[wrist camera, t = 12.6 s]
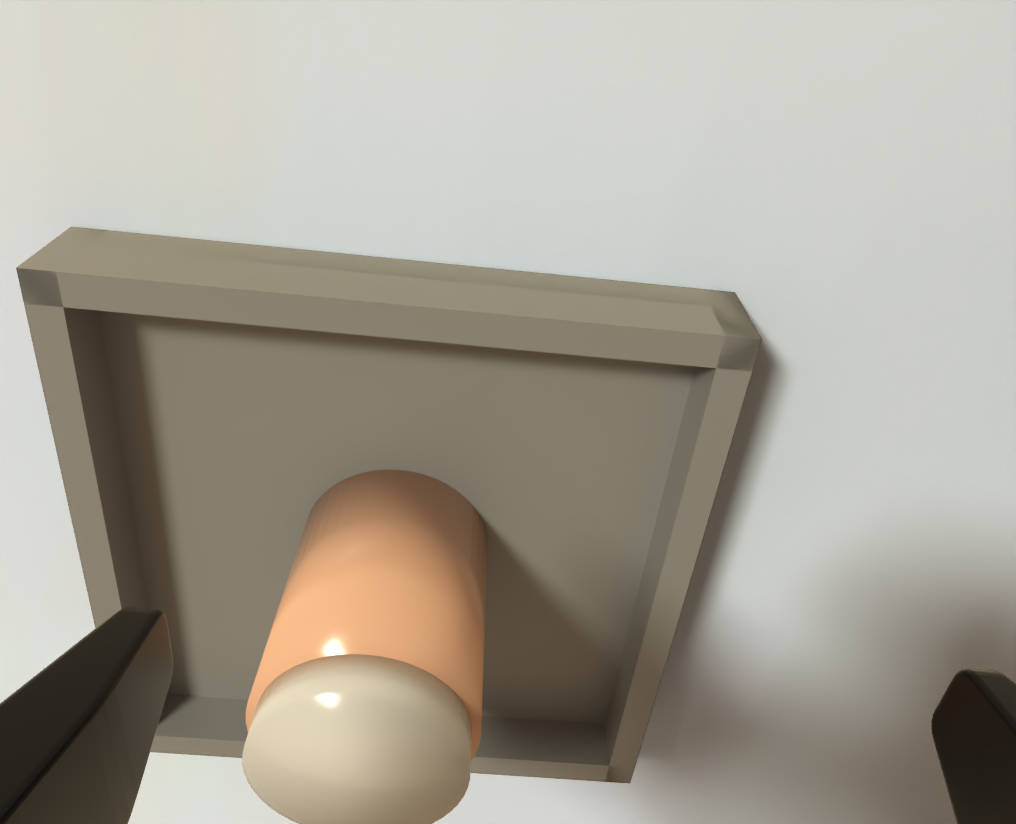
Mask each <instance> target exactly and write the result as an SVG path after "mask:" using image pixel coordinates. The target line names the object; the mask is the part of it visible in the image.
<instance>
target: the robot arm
mask: <svg viewBox="0 0 1016 824" xmlns="http://www.w3.org/2000/svg"><path fill="white" fill-rule="evenodd" d="M172 671H173V657H172V651H171V644H170V638H169V631H168V625H167V619H166V616H165V614H164V612H163V611H162V610H160V609H158V608H146V607H132V606H130V607H125V608H122V609H120V610H119V611H117V612H116V613H115V614H113V615H112V616H111V617H110V618H108V619H107V620H106V621H105V622H103V623H102V624H101V625H99V626H98V627H97V628H96V629H94V630H93V631H92V632H91V633H89V634H88V635H87V636H85V637H84V638H83V639H82V640H80V641H79V642H78V643H77V644H75V645H74V646H73V647H71V648H70V649H69V650H68V651H66V652H65V653H64V654H63V655H61V656H60V657H59V658H58V659H56V660H55V661H54V662H52V663H51V664H50V665H49V666H47V667H46V668H45V669H44V670H42V671H41V672H40V673H38V674H37V675H36V676H35V677H33V678H32V679H31V680H30V681H28V682H27V683H26V684H24V685H23V686H22V687H21V688H19V689H18V690H17V691H16V692H14V693H13V694H12V695H11V696H9V697H8V698H7V699H5V700H4V701H3V702H2V703H0V824H128V821H129V819H130V816H131V813H132V810H133V806H134V803H135V800H136V797H137V794H138V790H139V787H140V784H141V780H142V777H143V773H144V770H145V767H146V763H147V760H148V757H149V753H150V750H151V746H152V743H153V740H154V736H155V733H156V729H157V726H158V723H159V719H160V716H161V712H162V709H163V706H164V702H165V699H166V695H167V692H168V689H169V685H170V682H171V677H172ZM932 734H933V739H934V742H935V746H936V750H937V753H938V757H939V760H940V764H941V768H942V771H943V775H944V778H945V782H946V786H947V789H948V793H949V797H950V800H951V804H952V807H953V811H954V815H955V818H956V822H957V824H1016V684H1015V683H1014V682H1012V681H1011V680H1010V679H1009V678H1007V677H1006V676H1005V675H1003V674H1001V673H999V672H996V671H992V670H980V669H962V670H961V671H959V672H958V673H957V674H956V675H955V676H954V678H953V680H952V681H951V683H950V685H949V687H948V688H947V690H946V692H945V694H944V695H943V697H942V699H941V701H940V703H939V704H938V706H937V708H936V710H935V712H934V714H933V718H932Z"/></svg>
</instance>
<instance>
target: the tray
mask: <svg viewBox="0 0 1016 824" xmlns="http://www.w3.org/2000/svg"><path fill="white" fill-rule="evenodd" d="M16 269H17V274H18V278H19V283H20V287H21V292H22V296H23V301H24V305H25V310H26V314H27V319H28V324H29V328H30V333H31V337H32V342H33V346H34V351H35V355H36V360H37V364H38V369H39V374H40V378H41V383H42V387H43V392H44V396H45V401H46V405H47V410H48V415H49V419H50V424H51V428H52V433H53V437H54V442H55V446H56V451H57V455H58V460H59V465H60V469H61V474H62V478H63V483H64V487H65V492H66V496H67V501H68V505H69V510H70V515H71V519H72V524H73V528H74V533H75V537H76V542H77V546H78V551H79V555H80V560H81V565H82V569H83V574H84V578H85V583H86V587H87V592H88V596H89V601H90V605H91V610H92V615H93V619H94V624H95V628H97V627H98V626H99V625H101V624H102V623H103V622H105V621H106V620H107V619H108V618H110V617H111V616H112V615H113V614H115V613H116V612H117V611H119V610H120V609H122V608H125V607H130V606H132V607H146V608H158V609H160V610H162V611H163V612H164V614H165V616H166V619H167V625H168V631H169V638H170V644H171V651H172V657H173V671H172V677H171V682H170V685H169V689H168V692H167V695H166V699H165V702H164V706H163V709H162V712H161V716H160V719H159V723H158V726H157V729H156V733H155V736H154V740H153V743H152V746H151V750H150V752H158V753H174V754H189V755H204V756H220V757H235V758H242V754H243V749H244V745H245V742H246V739H247V735H248V731H247V725H246V708H247V703H248V699H249V696H250V693H251V690H252V687H253V684H254V681H255V678H256V675H257V672H258V669H259V666H260V663H261V660H262V656H263V653H264V650H265V647H266V644H267V641H268V638H269V635H270V632H271V629H272V626H273V623H274V620H275V617H276V613H277V610H278V607H279V604H280V601H281V598H282V595H283V592H284V589H285V586H286V583H287V580H288V577H289V574H290V570H291V567H292V564H293V561H294V558H295V555H296V552H297V549H298V546H299V543H300V540H301V537H302V534H303V531H304V528H305V524H306V521H307V518H308V516H309V514H310V511H311V509H312V507H313V506H314V504H315V503H316V501H317V500H318V499H319V498H320V497H321V496H322V494H323V493H325V492H326V491H327V490H328V489H329V488H331V487H332V486H334V485H335V484H337V483H338V482H340V481H342V480H344V479H346V478H349V477H351V476H354V475H357V474H360V473H364V472H369V471H374V470H387V469H388V470H404V471H412V472H416V473H420V474H424V475H427V476H430V477H433V478H435V479H438V480H440V481H442V482H444V483H446V484H448V485H449V486H451V487H452V488H454V489H455V490H457V491H458V492H459V493H460V494H462V495H463V496H464V497H465V498H466V499H467V500H468V501H469V502H470V503H471V504H472V505H473V506H474V508H475V509H476V511H477V512H478V514H479V515H480V517H481V519H482V521H483V523H484V527H485V530H486V534H487V541H488V544H487V574H486V604H485V634H484V664H483V694H482V724H481V740H480V744H479V747H478V750H477V752H476V754H475V756H474V757H473V759H472V760H471V765H470V773H480V774H495V775H511V776H526V777H541V778H556V779H572V780H587V781H602V782H618V783H630V782H631V779H632V775H633V772H634V768H635V765H636V762H637V758H638V755H639V752H640V748H641V745H642V741H643V738H644V735H645V731H646V728H647V725H648V721H649V718H650V714H651V711H652V708H653V704H654V701H655V698H656V694H657V691H658V687H659V684H660V681H661V677H662V674H663V671H664V667H665V664H666V660H667V657H668V654H669V650H670V647H671V644H672V640H673V637H674V633H675V630H676V627H677V623H678V620H679V617H680V613H681V610H682V606H683V603H684V600H685V596H686V593H687V590H688V586H689V583H690V579H691V576H692V573H693V569H694V566H695V563H696V559H697V556H698V552H699V549H700V546H701V542H702V539H703V536H704V532H705V529H706V525H707V522H708V519H709V515H710V512H711V509H712V505H713V502H714V498H715V495H716V492H717V488H718V485H719V482H720V478H721V475H722V471H723V468H724V465H725V461H726V458H727V454H728V451H729V448H730V444H731V441H732V438H733V434H734V431H735V427H736V424H737V421H738V417H739V414H740V411H741V407H742V404H743V400H744V397H745V394H746V390H747V387H748V384H749V380H750V377H751V373H752V370H753V367H754V363H755V360H756V357H757V353H758V350H759V346H760V343H761V340H762V339H761V337H760V335H759V334H758V332H757V330H756V329H755V327H754V325H753V323H752V322H751V320H750V318H749V316H748V315H747V313H746V311H745V309H744V308H743V306H742V304H741V303H740V301H739V299H738V297H737V296H736V294H735V292H726V291H716V290H706V289H696V288H686V287H675V286H665V285H655V284H645V283H635V282H625V281H615V280H605V279H594V278H584V277H574V276H564V275H554V274H544V273H534V272H523V271H513V270H503V269H493V268H483V267H473V266H463V265H453V264H442V263H432V262H422V261H412V260H402V259H392V258H382V257H371V256H361V255H351V254H341V253H331V252H321V251H311V250H301V249H290V248H280V247H270V246H260V245H250V244H240V243H230V242H220V241H209V240H199V239H189V238H179V237H169V236H159V235H149V234H138V233H128V232H118V231H108V230H98V229H88V228H78V227H70V228H69V229H68V230H66V231H65V232H64V233H62V234H61V235H60V236H58V237H57V238H56V239H54V240H53V241H51V242H50V243H49V244H47V245H46V246H45V247H43V248H42V249H41V250H39V251H38V252H37V253H35V254H34V255H33V256H31V257H30V258H29V259H27V260H26V261H25V262H23V263H22V264H21V265H19V266H18V267H17V268H16Z"/></svg>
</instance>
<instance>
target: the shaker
mask: <svg viewBox="0 0 1016 824" xmlns="http://www.w3.org/2000/svg"><path fill="white" fill-rule="evenodd" d="M487 544H488V541H487V534H486V530H485V527H484V523H483V521H482V519H481V517H480V515H479V514H478V512H477V511H476V509H475V508H474V506H473V505H472V504H471V503H470V502H469V501H468V500H467V499H466V498H465V497H464V496H463V495H462V494H460V493H459V492H458V491H457V490H455V489H454V488H452V487H451V486H449V485H448V484H446V483H444V482H442V481H440V480H438V479H435V478H433V477H430V476H427V475H424V474H420V473H416V472H412V471H404V470H388V469H387V470H374V471H369V472H364V473H360V474H357V475H354V476H351V477H349V478H346V479H344V480H342V481H340V482H338V483H337V484H335V485H334V486H332V487H331V488H329V489H328V490H327V491H326V492H325V493H323V494H322V496H321V497H320V498H319V499H318V500H317V501H316V503H315V504H314V506H313V507H312V509H311V511H310V514H309V516H308V518H307V521H306V524H305V528H304V531H303V534H302V537H301V540H300V543H299V546H298V549H297V552H296V555H295V558H294V561H293V564H292V567H291V570H290V574H289V577H288V580H287V583H286V586H285V589H284V592H283V595H282V598H281V601H280V604H279V607H278V610H277V613H276V617H275V620H274V623H273V626H272V629H271V632H270V635H269V638H268V641H267V644H266V647H265V650H264V653H263V656H262V660H261V663H260V666H259V669H258V672H257V675H256V678H255V681H254V684H253V687H252V690H251V693H250V696H249V699H248V703H247V708H246V725H247V731H248V735H247V739H246V742H245V745H244V749H243V754H242V765H243V769H244V774H245V776H246V778H247V781H248V783H249V784H250V786H251V788H252V789H253V791H254V792H255V793H256V794H257V795H258V796H259V798H260V799H261V800H262V801H263V802H265V803H266V804H267V805H268V806H269V807H271V808H272V809H273V810H275V811H276V812H278V813H279V814H281V815H283V816H284V817H286V818H288V819H290V820H292V821H294V822H296V823H299V824H432V823H434V822H435V821H437V820H439V819H441V818H442V817H444V816H445V815H446V814H448V813H449V812H450V811H452V810H453V809H454V808H455V807H456V806H457V805H458V803H459V802H460V801H461V799H462V798H463V796H464V795H465V792H466V790H467V788H468V784H469V780H470V765H471V760H472V759H473V757H474V756H475V754H476V752H477V750H478V747H479V744H480V740H481V724H482V694H483V664H484V634H485V604H486V574H487Z"/></svg>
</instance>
